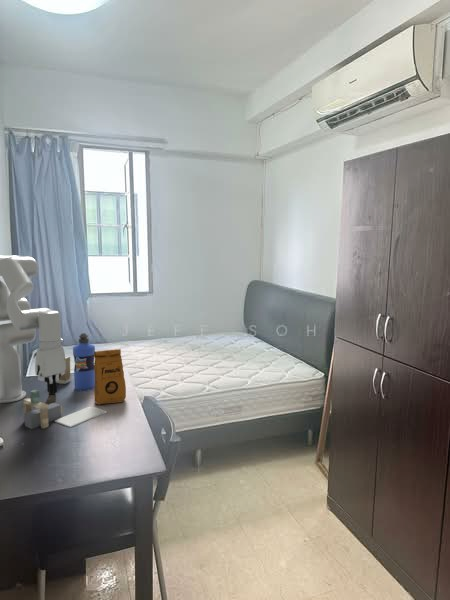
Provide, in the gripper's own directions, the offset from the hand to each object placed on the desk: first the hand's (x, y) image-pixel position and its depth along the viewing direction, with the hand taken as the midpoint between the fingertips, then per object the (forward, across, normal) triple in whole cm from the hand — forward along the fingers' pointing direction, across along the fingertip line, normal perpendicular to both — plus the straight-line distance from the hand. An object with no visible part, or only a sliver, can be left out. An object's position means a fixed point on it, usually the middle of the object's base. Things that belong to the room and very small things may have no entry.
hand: (52, 392), depth 150 cm
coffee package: (+10, -23, +5) cm, 26 cm away
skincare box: (+10, -27, -32) cm, 43 cm away
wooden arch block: (+10, +7, 0) cm, 12 cm away
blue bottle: (+10, -28, -17) cm, 34 cm away
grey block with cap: (+10, +4, 0) cm, 11 cm away
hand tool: (+10, -6, -11) cm, 16 cm away
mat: (+10, -6, +8) cm, 14 cm away
